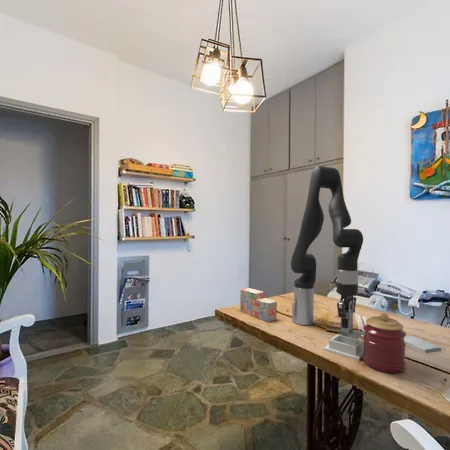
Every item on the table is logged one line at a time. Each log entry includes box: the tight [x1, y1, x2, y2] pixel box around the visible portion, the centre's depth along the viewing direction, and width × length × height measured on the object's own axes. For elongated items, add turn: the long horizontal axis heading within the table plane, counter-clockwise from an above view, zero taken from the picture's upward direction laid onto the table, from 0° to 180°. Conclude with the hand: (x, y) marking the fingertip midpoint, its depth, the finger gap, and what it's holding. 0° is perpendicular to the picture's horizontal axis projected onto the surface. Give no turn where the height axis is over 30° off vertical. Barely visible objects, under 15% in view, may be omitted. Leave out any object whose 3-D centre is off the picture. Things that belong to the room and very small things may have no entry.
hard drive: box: [404, 335, 442, 353], centre depth 119 cm, size 2×8×12 cm
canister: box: [362, 312, 407, 374], centre depth 102 cm, size 13×13×18 cm
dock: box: [323, 333, 364, 361], centre depth 114 cm, size 13×11×4 cm
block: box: [340, 308, 362, 339], centre depth 112 cm, size 6×4×10 cm, turn 48°
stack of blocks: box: [239, 287, 278, 323], centre depth 155 cm, size 21×6×12 cm, turn 36°
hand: (346, 326), depth 113 cm, fingers closed on block, 4 cm apart
